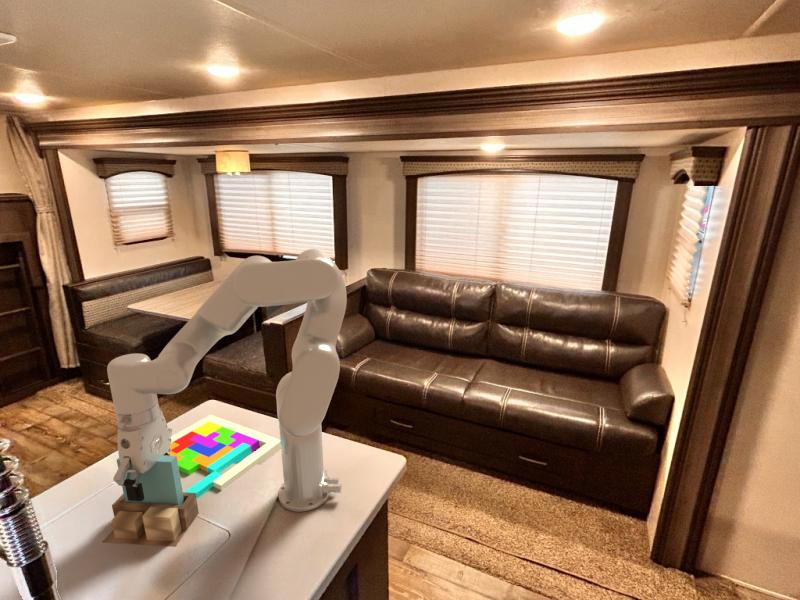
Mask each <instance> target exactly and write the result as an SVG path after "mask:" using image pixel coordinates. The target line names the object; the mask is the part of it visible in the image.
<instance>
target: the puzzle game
mask: <svg viewBox="0 0 800 600" xmlns="http://www.w3.org/2000/svg"><path fill="white" fill-rule="evenodd" d="M170 438H171V446H170V449H171V451H170V453H169V454H170V456H177V461H178V467H179V472H180V471H181V473H184V474H186V475H189V476H191V475H192V474H194V473H196V472H197V471H198V470H202V471H205V472H207V473H209V474H207V475H206V476H205V477H203V478H202V479H200V480H199V481H198V482H196V483H195V484H194V485H192V486H190V487H189V488H188V489H186V490H185V491H184V492H187V493H196V499H197V500H198V499H199V498H200V497H201V496H203V495H204V494H205V493H207V492H208V491H210V490H211V489H212V488H215V489H218V490H220V491H224V490H225V489H226V488H227V487H229V486H230V485H231V484H232V483H234V482H235V481H237V480H238V479H239V478H241V477H242V476H243V475H244V474H246V473H247V472H249V471H251V469H253V468H254V467H255V466H257V465H263V463H265V462H266V461H268V460H269V459H271V457H273V456H274V455H275V454H277V453H278V452H280V451H281V450H280V449H281V440H280V439H279V438H277V437H274V436H271V435H268V434H265V433H263V432H260V431H257V430H255V429H252V428H249V427H246V426H245V425H244V426H243V425H242V424H239V423H235V422H233V421H230V420H227V419H224V418H222V417H219V416H216V415H213V414H208V415H207V416H205V417H204V418H201V419H200V420H198V421H196V422H194V423H193V424H191V425H189V426H187V427H186V428H184V429H181V430H180V431H179V432H175V433H174V434H173V435H171V437H170ZM259 447H260V448H259ZM255 450H256V451H255ZM232 464H235V465H234V466H232V467H231V468H230V469H229V470H228V469H227V468H229V466H231V465H232ZM226 469H227V471H226V472H224V473H223V474H222V473H221V472H222V471H224V470H226Z"/></svg>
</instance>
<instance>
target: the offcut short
mask: <svg viewBox="0 0 800 600" xmlns="http://www.w3.org/2000/svg"><path fill="white" fill-rule="evenodd" d="M142 516H143V512H129V511H120V512H119V513H118V514H117V515H116V516H115V517H114V516H113V518H112V519H111V525H112V531H113V530H114V535H115V538H126V539H138V538H139V537H140V536H141V535H142V534H143V532H144V531H145V527H144V522H143V517H142Z"/></svg>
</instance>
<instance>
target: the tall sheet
mask: <svg viewBox="0 0 800 600" xmlns="http://www.w3.org/2000/svg"><path fill="white" fill-rule="evenodd" d="M116 464H117V467H118V468H119V467H120V459H119V457H117V458H116ZM118 468H117V469H118ZM132 469H134V468H133V467H132ZM134 477H135V473H131V475H130V479H131V480H134ZM139 483H142V487H143V493H144V500H143V501H129V500H128V498H127V493H126V488H125V486H121V488H122V492H123V493H124V498H125V502H127V503H147V504H167V505H182V504H183V503H184V497H183V492H184V491H183V486H182V485H183V484H182V481H181V473H180V470H179V467H178V461H177V456H165V455H162V456H161V457H160V458H159V459H158V460H157V461H156V463H155V464H154V465H153V466H152V467H151V468H150V469H149V470H148V471H147V472H145V473H141V477H140V481H139ZM123 493H122V494H123Z"/></svg>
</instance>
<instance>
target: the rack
mask: <svg viewBox="0 0 800 600" xmlns="http://www.w3.org/2000/svg"><path fill="white" fill-rule="evenodd" d="M183 497H184V503H183V504H182V505H167V504H147V503H127V502H125V498H124V493H122V494H121V496H119V497H118V498H117V499H116V500H115V501H114V502H113V504H112V505H111V507H112V513H113V518H114V517H115V516H116V515H117V514H118V513H119V512H120V511H129V512H143V515H144V514H145V512H146V511H147V510H148V509H149V508H150V507H164V508H178V514H179V520H180V525H181V533H180V534H179V535H178V537H177V538H176V540H175V541H162V540H147V537H146V532H145V531H144V532H143V534H142V535H141V536H140V537H139V538H138V539H126V538H115V535H114V530H113V529H112V531H110V533H109V534H108V535H107V536H106V537H105V538H104V539H103V540H102V541H101V543H109V544H125V545H144V546H158V547H159V546H161V547H177V545H178V544H179V543H180V541H181V540H182V538H183V537H184V535H185V534H186V533H187V531H188V530H189V528H190V526H191V525H192V524H193V522H194V521H195V520H196V518H197V517H198V515H199V507H198V498H197V499H196V493H187V492H185V491H183Z"/></svg>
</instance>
